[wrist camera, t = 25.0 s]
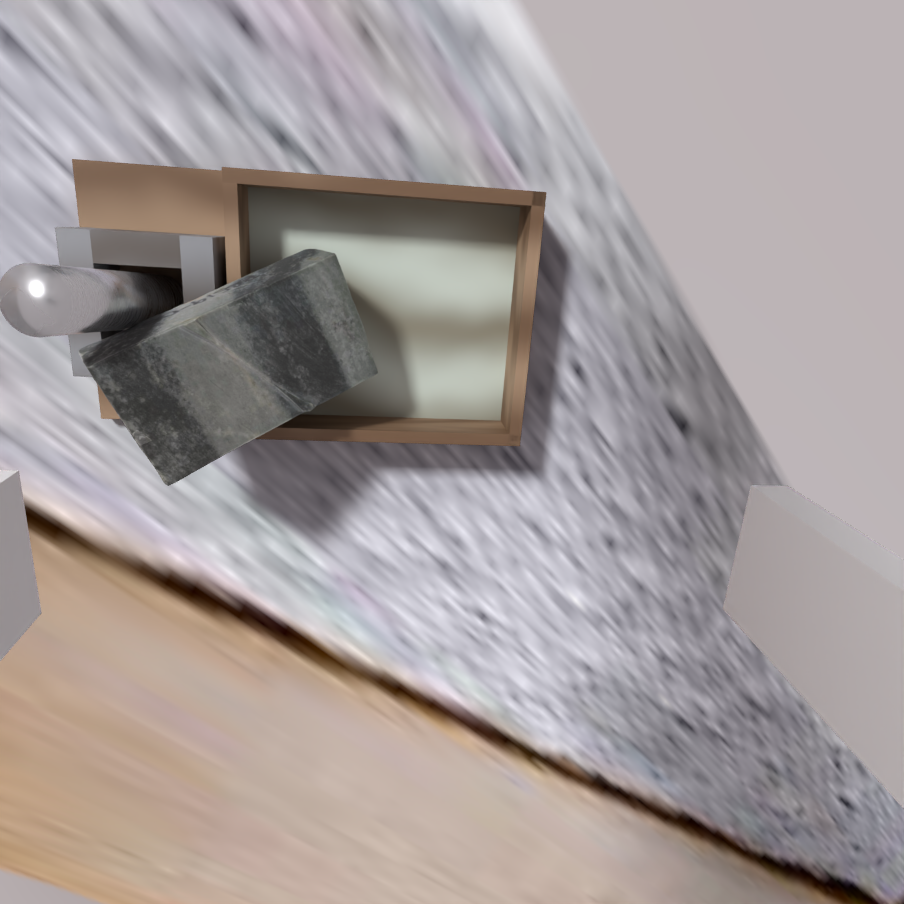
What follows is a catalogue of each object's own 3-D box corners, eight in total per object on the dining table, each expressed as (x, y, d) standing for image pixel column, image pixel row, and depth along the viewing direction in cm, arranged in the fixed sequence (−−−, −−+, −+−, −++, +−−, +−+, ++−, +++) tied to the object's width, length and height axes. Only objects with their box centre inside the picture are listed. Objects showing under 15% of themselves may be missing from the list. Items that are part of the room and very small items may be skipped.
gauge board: (79, 160, 40) (39, 152, 35) (529, 195, 43) (548, 192, 38) (107, 414, 45) (75, 436, 40) (507, 426, 48) (521, 448, 44)
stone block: (358, 371, 45) (392, 392, 41) (157, 474, 40) (173, 510, 36) (308, 244, 40) (341, 253, 36) (74, 345, 35) (81, 368, 31)
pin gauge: (133, 273, 41) (-8, 262, 28) (184, 274, 41) (66, 263, 29) (138, 325, 42) (2, 336, 29) (187, 326, 42) (74, 337, 29)
